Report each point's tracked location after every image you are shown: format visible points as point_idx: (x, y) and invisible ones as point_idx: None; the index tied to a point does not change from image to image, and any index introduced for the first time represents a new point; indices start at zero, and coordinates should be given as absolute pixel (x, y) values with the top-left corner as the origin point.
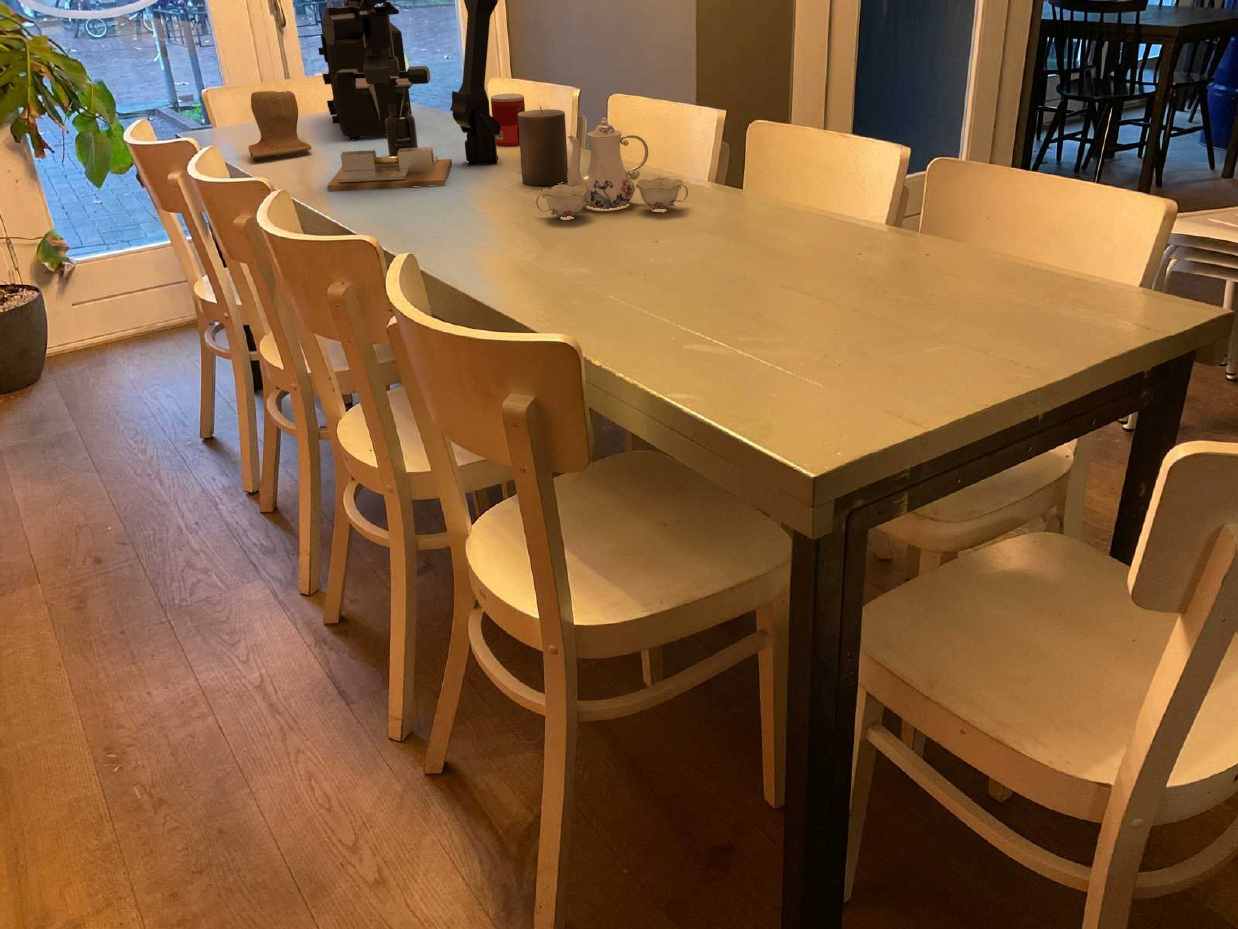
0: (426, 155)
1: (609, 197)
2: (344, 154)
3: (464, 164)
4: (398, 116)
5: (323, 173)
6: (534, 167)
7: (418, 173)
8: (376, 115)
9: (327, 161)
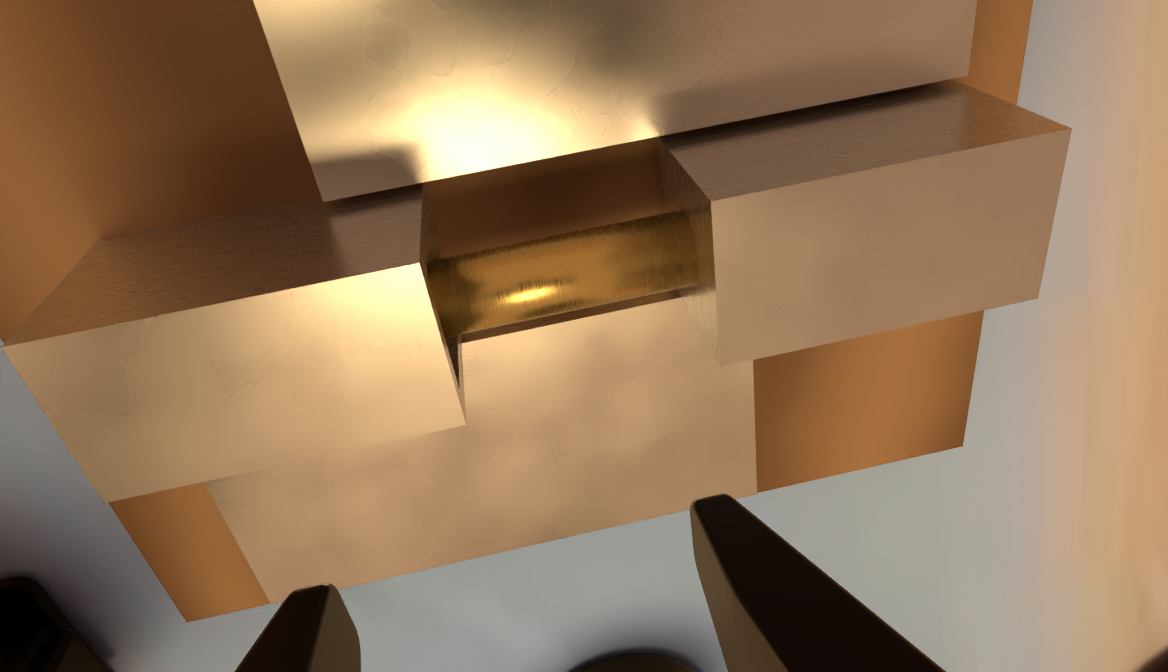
0: (84, 303)
1: None
2: (1027, 170)
3: (97, 598)
4: (283, 630)
5: (1078, 322)
6: None
7: (219, 160)
8: (763, 553)
9: (1049, 580)
